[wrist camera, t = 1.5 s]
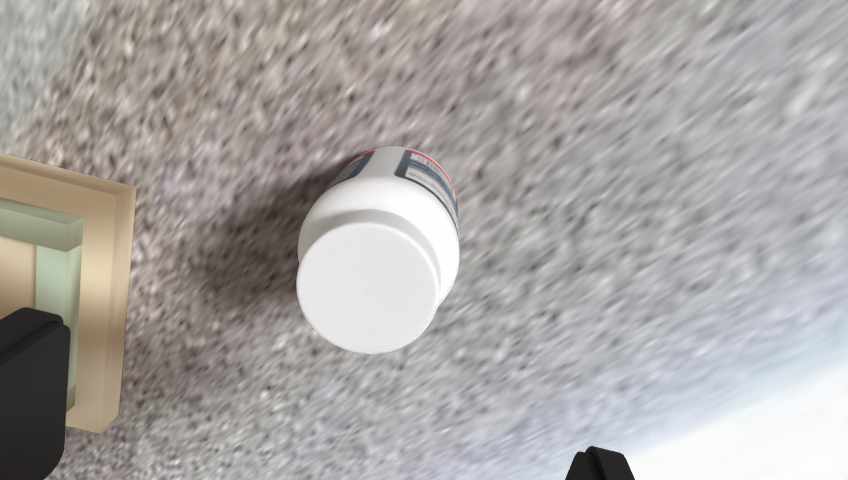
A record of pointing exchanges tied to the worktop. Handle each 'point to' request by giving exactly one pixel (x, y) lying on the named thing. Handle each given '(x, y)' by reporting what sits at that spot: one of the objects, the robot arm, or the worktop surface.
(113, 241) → the socket plate
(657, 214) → the worktop surface
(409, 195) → the pill bottle
